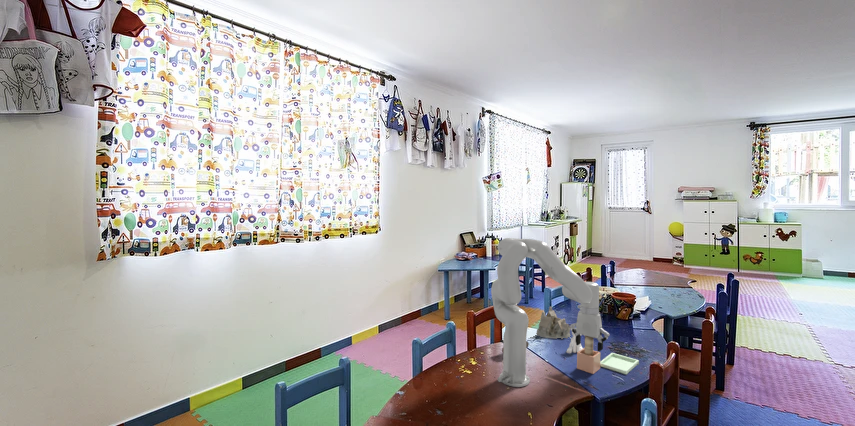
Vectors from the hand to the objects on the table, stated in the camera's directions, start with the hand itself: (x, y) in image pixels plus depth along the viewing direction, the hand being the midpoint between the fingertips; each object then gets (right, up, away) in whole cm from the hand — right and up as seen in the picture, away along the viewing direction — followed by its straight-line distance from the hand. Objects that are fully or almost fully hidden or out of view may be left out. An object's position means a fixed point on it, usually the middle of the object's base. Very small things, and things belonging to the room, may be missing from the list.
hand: (588, 347), depth 171 cm
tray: (+16, -10, +4) cm, 19 cm away
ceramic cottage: (-2, -9, +43) cm, 44 cm away
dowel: (0, -10, +1) cm, 10 cm away
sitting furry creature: (+2, -10, +20) cm, 23 cm away
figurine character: (-29, -10, +20) cm, 37 cm away
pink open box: (0, -10, +1) cm, 10 cm away
